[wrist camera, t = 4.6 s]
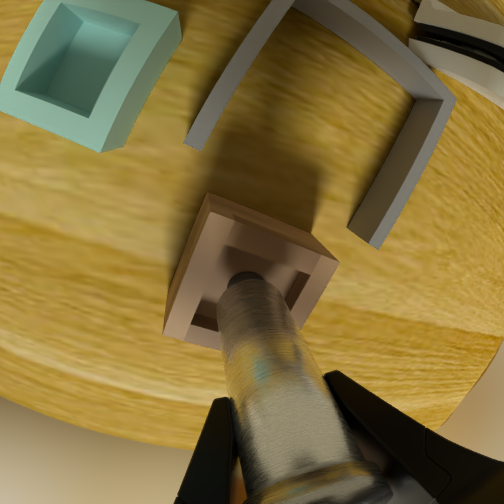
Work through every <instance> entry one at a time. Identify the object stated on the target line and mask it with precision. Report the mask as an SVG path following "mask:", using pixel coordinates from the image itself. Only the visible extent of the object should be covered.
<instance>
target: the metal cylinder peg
mask: <svg viewBox="0 0 504 504" xmlns="http://www.w3.org/2000/svg"><path fill="white" fill-rule="evenodd" d="M216 315H217V322H218V330H219V337H220V344H221V351H222V358H223V365H224V371H225V378H226V384H227V391H228V397H229V401H230V407H231V413H232V419H233V425H234V430H235V436H236V443H237V449H238V455H239V460H240V465H241V470H242V476H243V481H244V486H245V491H246V496H247V499H246V500H245V501H244V502H243V503H242V504H387V503H388V502H389V501H390V500H391V499H392V497H393V494H394V493H393V491H392V490H391V488H390V486H389V484H388V482H387V480H386V478H385V476H384V474H383V472H382V470H381V468H380V467H379V465H378V464H377V463H375V462H372V461H366V459H365V457H364V455H363V453H362V451H361V449H360V447H359V445H358V443H357V441H356V439H355V437H354V436H353V434H352V432H351V430H350V428H349V426H348V424H347V422H346V420H345V418H344V416H343V414H342V412H341V410H340V408H339V406H338V404H337V402H336V400H335V398H334V396H333V394H332V392H331V390H330V388H329V386H328V384H327V382H326V380H325V378H324V376H323V375H322V373H321V371H320V369H319V367H318V365H317V363H316V361H315V359H314V357H313V355H312V353H311V351H310V349H309V347H308V345H307V343H306V341H305V339H304V337H303V335H302V334H301V332H300V330H299V328H298V326H297V324H296V322H295V320H294V318H293V316H292V314H291V312H290V310H289V308H288V306H287V304H286V302H285V301H284V299H283V297H282V295H281V293H280V291H279V290H278V289H277V288H276V287H275V286H274V285H272V284H271V283H269V282H267V281H264V280H259V279H248V280H243V281H240V282H237V283H235V284H233V285H232V286H230V287H229V288H227V289H226V290H225V291H224V292H223V294H222V295H221V297H220V298H219V300H218V303H217V307H216Z"/></svg>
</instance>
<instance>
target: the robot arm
mask: <svg viewBox="0 0 504 504" xmlns="http://www.w3.org/2000/svg"><path fill="white" fill-rule="evenodd" d="M324 378H325V380H326V382H327V384H328V386H329V388H330V390H331V392H332V394H333V396H334V398H335V400H336V402H337V404H338V406H339V408H340V410H341V412H342V414H343V416H344V418H345V420H346V422H347V424H348V426H349V428H350V430H351V432H352V434H353V436H354V437H355V439H356V441H357V443H358V445H359V447H360V449H361V451H362V453H363V455H364V457H365V459H366V461H372V462H375V463H377V464H378V465H379V467H380V468H381V470H382V472H383V474H384V476H385V478H386V480H387V482H388V484H389V486H390V488H391V490H392V491H393V493H394V494H393V497H392V499H391V500H390V501H389V502H388V503H387V504H504V462H502V461H498V460H495V459H492V458H489V457H487V456H484V455H482V454H479V453H477V452H474V451H472V450H469V449H467V448H465V447H462V446H460V445H458V444H456V443H454V442H452V441H449V440H448V439H446V438H444V437H442V436H440V435H439V434H437V433H435V432H433V431H432V430H430V429H429V428H425V426H423V425H422V424H420V423H419V422H417V421H415V420H414V419H412V418H411V417H409V416H407V415H406V414H404V413H403V412H401V411H399V410H398V409H396V408H395V407H393V406H392V405H390V404H389V403H387V402H385V401H384V400H382V399H381V398H379V397H378V396H376V395H375V394H373V393H372V392H370V391H369V390H367V389H365V388H364V387H362V386H361V385H359V384H358V383H356V382H355V381H353V380H352V379H350V378H349V377H347V376H346V375H345V374H343V373H342V372H340V371H338V370H334V371H331V372H328V373H325V374H324ZM177 495H178V497H176V499H175V501H174V504H242V503H243V502H244V501H245V500H246V499H247V496H246V491H245V486H244V481H243V476H242V470H241V465H240V460H239V455H238V449H237V443H236V436H235V430H234V425H233V419H232V413H231V407H230V401H229V398H228V397H222V398H216V399H214V401H213V403H212V405H211V408H210V411H209V413H208V416H207V419H206V421H205V424H204V426H203V429H202V432H201V434H200V437H199V440H198V442H197V445H196V447H195V450H194V453H193V456H192V458H191V461H190V463H189V466H188V468H187V471H186V473H185V476H184V479H183V481H182V484H181V486H180V489H179V491H178V494H177Z"/></svg>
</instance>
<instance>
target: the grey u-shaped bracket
mask: <svg viewBox="0 0 504 504" xmlns="http://www.w3.org/2000/svg"><path fill="white" fill-rule="evenodd" d="M290 6H292V7H294V8H295V9H297V10H299V11H300V12H302V13H304V14H305V15H307V16H309V17H310V18H312V19H314V20H315V21H317V22H318V23H320V24H321V25H323V26H324V27H326V28H327V29H329V30H330V31H332V32H333V33H335V34H336V35H338V36H339V37H341V38H342V39H343V40H345V41H346V42H348V43H349V44H350V45H352V46H353V47H354V48H356V49H357V50H358V51H360V52H361V53H362V54H364V55H365V56H366V57H367V58H369V59H370V60H371V61H372V62H374V63H375V64H376V65H377V66H379V67H380V68H381V69H382V70H383V71H385V72H386V73H387V74H388V75H389V76H390V77H392V78H393V79H394V80H395V81H396V82H397V83H398V84H399V85H401V86H402V87H403V88H404V89H405V90H406V91H407V92H408V93H409V94H410V95H411V96H412V97H413V98H415V99H416V102H415V104H414V106H413V108H412V110H411V112H410V114H409V116H408V118H407V120H406V122H405V124H404V126H403V128H402V130H401V132H400V134H399V136H398V137H397V139H396V141H395V143H394V145H393V147H392V149H391V151H390V153H389V154H388V156H387V158H386V160H385V162H384V164H383V166H382V167H381V169H380V171H379V173H378V175H377V176H376V178H375V180H374V182H373V184H372V185H371V187H370V189H369V191H368V192H367V194H366V196H365V198H364V199H363V201H362V203H361V205H360V206H359V208H358V210H357V211H356V213H355V215H354V216H353V218H352V220H351V222H350V223H349V225H348V227H347V228H348V229H349V230H350V231H352V232H353V233H355V234H356V235H357V236H359V237H360V238H361V239H363V240H364V241H365V242H367V243H368V244H370V245H371V246H373V247H375V248H376V249H378V250H379V249H380V247H381V245H382V244H383V242H384V240H385V239H386V237H387V235H388V234H389V232H390V230H391V229H392V227H393V225H394V224H395V222H396V220H397V218H398V217H399V215H400V213H401V211H402V210H403V208H404V206H405V204H406V202H407V201H408V199H409V197H410V195H411V193H412V192H413V190H414V188H415V186H416V184H417V182H418V180H419V178H420V176H421V175H422V173H423V171H424V169H425V167H426V165H427V163H428V161H429V159H430V157H431V155H432V153H433V151H434V149H435V147H436V144H437V142H438V140H439V138H440V136H441V134H442V132H443V129H444V127H445V125H446V123H447V121H448V118H449V116H450V114H451V112H452V109H453V107H454V105H455V102H456V100H457V98H456V97H455V96H454V95H453V94H452V93H451V91H450V90H449V89H448V88H447V87H446V86H445V85H444V84H443V83H442V81H441V80H440V79H439V78H438V77H437V76H436V75H435V74H434V73H433V72H432V71H431V70H430V69H429V68H428V67H427V66H426V65H425V64H424V63H423V62H422V61H421V60H420V59H419V58H418V57H417V56H416V55H415V54H414V53H413V52H412V51H411V50H410V49H409V48H408V47H407V46H405V45H404V44H403V43H402V42H401V41H400V40H399V39H398V38H396V37H395V36H394V35H393V34H392V33H391V32H390V31H388V30H387V29H386V28H385V27H384V26H382V25H381V24H380V23H379V22H377V21H376V20H375V19H374V18H372V17H371V16H370V15H368V14H367V13H366V12H364V11H363V10H362V9H360V8H359V7H358V6H356V5H355V4H353V3H352V2H351V1H349V0H272V1H271V2H270V4H269V5H268V7H267V8H266V9H265V11H264V12H263V13H262V15H261V16H260V18H259V19H258V20H257V22H256V23H255V25H254V26H253V27H252V29H251V30H250V32H249V33H248V35H247V36H246V38H245V39H244V41H243V42H242V44H241V45H240V47H239V48H238V50H237V51H236V53H235V54H234V56H233V57H232V59H231V61H230V62H229V64H228V65H227V67H226V69H225V70H224V72H223V73H222V75H221V77H220V78H219V80H218V82H217V83H216V85H215V87H214V88H213V90H212V92H211V93H210V95H209V97H208V98H207V100H206V102H205V104H204V105H203V107H202V109H201V111H200V113H199V114H198V116H197V118H196V120H195V122H194V123H193V125H192V127H191V129H190V131H189V133H188V134H187V136H186V138H185V140H184V142H183V143H184V144H186V145H188V146H191V147H193V148H195V149H197V150H199V151H201V150H202V149H203V147H204V145H205V143H206V141H207V139H208V137H209V136H210V134H211V132H212V130H213V128H214V127H215V125H216V123H217V121H218V119H219V118H220V116H221V114H222V112H223V111H224V109H225V107H226V105H227V104H228V102H229V100H230V99H231V97H232V95H233V94H234V92H235V90H236V88H237V87H238V85H239V84H240V82H241V80H242V79H243V77H244V75H245V74H246V72H247V71H248V69H249V67H250V66H251V64H252V63H253V61H254V59H255V58H256V56H257V55H258V53H259V52H260V50H261V49H262V47H263V46H264V44H265V43H266V41H267V40H268V38H269V37H270V35H271V34H272V32H273V31H274V29H275V28H276V26H277V25H278V23H279V22H280V21H281V19H282V18H283V16H284V15H285V13H286V12H287V11H288V9H289V8H290Z"/></svg>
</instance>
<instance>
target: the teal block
mask: <svg viewBox="0 0 504 504" xmlns="http://www.w3.org/2000/svg"><path fill="white" fill-rule="evenodd" d="M181 40H182V34H181V28H180V21H179V15H178V11H175V10H172V9H170V8H167V7H164V6H161V5H158V4H155V3H152V2H149V1H146V0H44V1H43V2H42V4H41V5H40V7H39V9H38V10H37V12H36V14H35V15H34V17H33V19H32V20H31V22H30V24H29V25H28V27H27V29H26V31H25V33H24V34H23V36H22V38H21V40H20V42H19V44H18V46H17V48H16V50H15V52H14V54H13V56H12V58H11V60H10V62H9V65H8V67H7V69H6V71H5V74H4V76H3V78H2V81H1V83H0V111H1V112H4V113H6V114H9V115H11V116H14V117H16V118H19V119H21V120H24V121H26V122H28V123H31V124H33V125H36V126H38V127H40V128H43V129H45V130H48V131H50V132H52V133H55V134H57V135H59V136H62V137H64V138H66V139H69V140H71V141H73V142H76V143H78V144H80V145H83V146H85V147H87V148H90V149H92V150H94V151H96V152H99V153H102V152H105V151H109V150H113V149H117V148H121V147H124V144H125V142H126V140H127V138H128V136H129V134H130V132H131V129H132V127H133V125H134V123H135V121H136V119H137V117H138V115H139V113H140V111H141V109H142V107H143V106H144V104H145V102H146V100H147V98H148V96H149V94H150V92H151V91H152V89H153V87H154V85H155V83H156V82H157V80H158V78H159V76H160V75H161V73H162V71H163V69H164V68H165V66H166V64H167V63H168V61H169V59H170V58H171V56H172V55H173V53H174V51H175V50H176V48H177V47H178V45H179V44H180V42H181Z"/></svg>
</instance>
